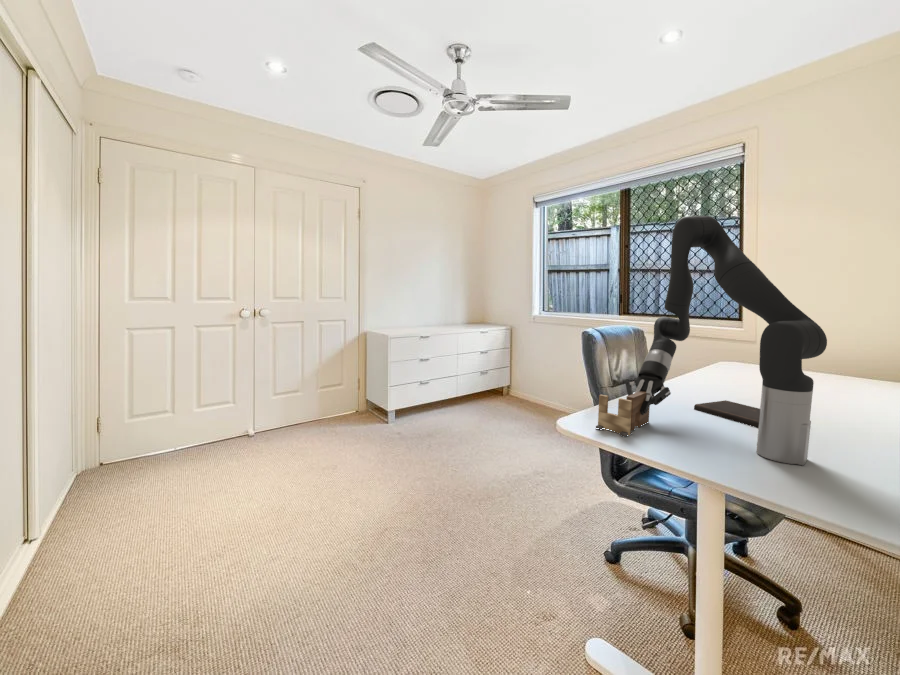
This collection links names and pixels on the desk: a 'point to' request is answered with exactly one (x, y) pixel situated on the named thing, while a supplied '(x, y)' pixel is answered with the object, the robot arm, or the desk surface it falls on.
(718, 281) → the robot arm
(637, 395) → the brown notched wooden panel
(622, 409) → the oak upright
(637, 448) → the desk surface
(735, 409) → the hardcover book
